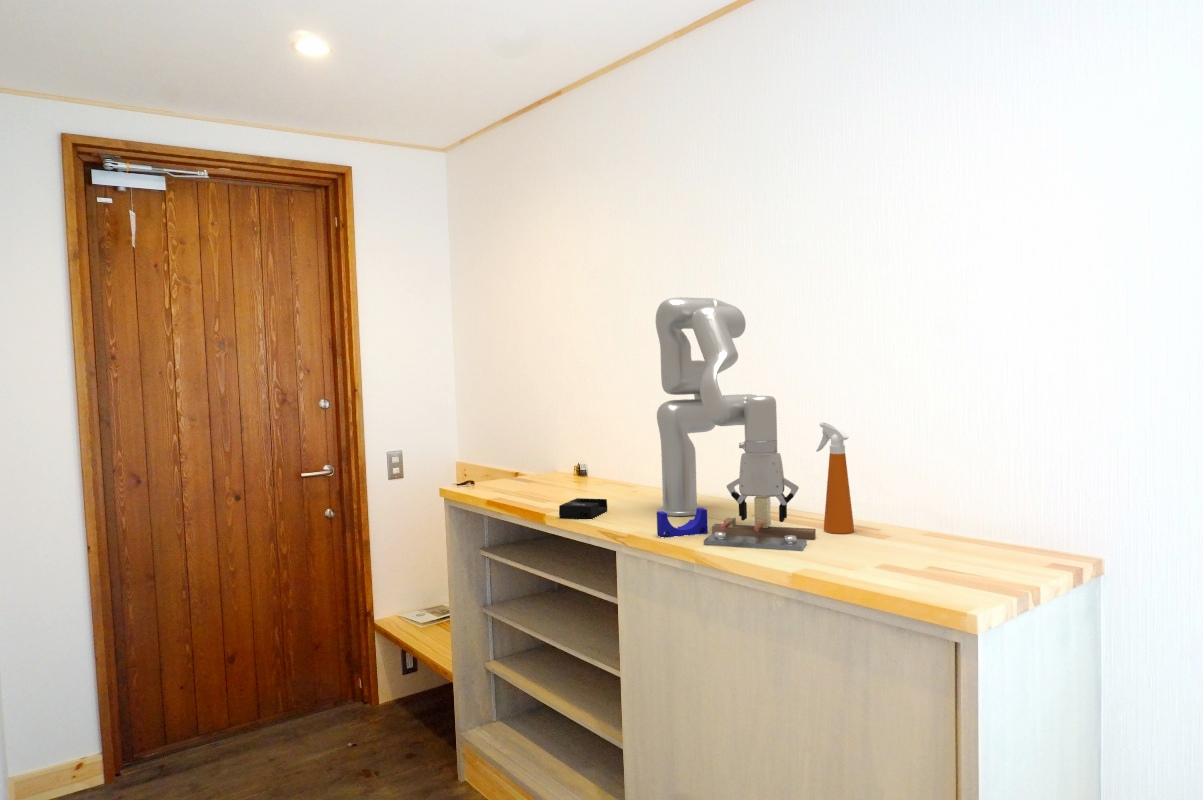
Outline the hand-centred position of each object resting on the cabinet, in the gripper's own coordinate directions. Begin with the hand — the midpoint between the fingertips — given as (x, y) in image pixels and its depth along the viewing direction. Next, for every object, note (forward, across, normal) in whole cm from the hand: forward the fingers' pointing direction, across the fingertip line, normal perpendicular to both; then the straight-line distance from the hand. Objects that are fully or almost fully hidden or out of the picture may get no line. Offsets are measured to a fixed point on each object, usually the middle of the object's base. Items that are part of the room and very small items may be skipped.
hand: (762, 520), depth 186 cm
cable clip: (+4, -20, -3) cm, 20 cm away
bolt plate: (+4, 0, -9) cm, 10 cm away
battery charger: (+4, -53, +14) cm, 55 cm away
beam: (+4, 0, -3) cm, 5 cm away
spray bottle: (+4, +15, +11) cm, 19 cm away
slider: (+1, 0, -3) cm, 3 cm away
